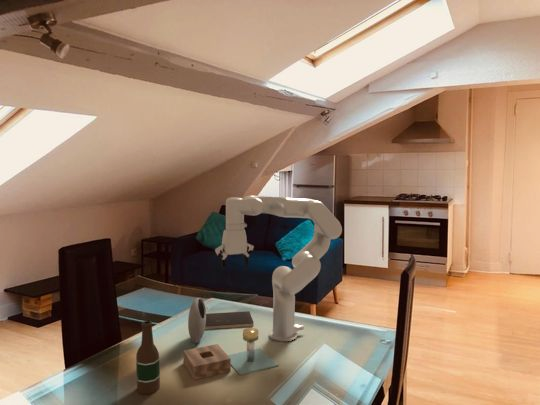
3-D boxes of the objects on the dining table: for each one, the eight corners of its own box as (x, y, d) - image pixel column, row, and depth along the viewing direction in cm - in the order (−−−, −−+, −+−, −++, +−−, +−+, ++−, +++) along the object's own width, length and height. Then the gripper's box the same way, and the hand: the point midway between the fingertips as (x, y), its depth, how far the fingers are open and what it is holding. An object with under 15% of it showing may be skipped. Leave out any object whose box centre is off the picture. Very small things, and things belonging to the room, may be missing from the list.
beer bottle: (139, 383, 154) (137, 318, 151) (161, 382, 155) (160, 317, 152) (134, 395, 146) (132, 327, 143) (158, 394, 147) (156, 326, 144)
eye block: (217, 355, 175) (217, 343, 175) (230, 371, 163) (230, 358, 162) (183, 363, 169) (183, 350, 169) (194, 379, 157) (194, 366, 156)
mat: (260, 349, 182) (260, 348, 182) (278, 365, 168) (278, 364, 168) (224, 356, 175) (224, 355, 175) (239, 375, 160) (239, 374, 160)
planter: (202, 350, 180) (202, 306, 178) (185, 350, 180) (184, 306, 178) (208, 332, 198) (208, 292, 196) (192, 332, 198) (192, 292, 196)
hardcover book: (253, 327, 206) (253, 322, 205) (204, 330, 201) (204, 325, 201) (249, 315, 221) (249, 310, 221) (203, 317, 217) (203, 313, 217)
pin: (254, 355, 175) (254, 326, 174) (260, 361, 170) (260, 332, 168) (240, 358, 172) (240, 329, 171) (246, 365, 167) (246, 335, 166)
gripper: (249, 224, 190) (249, 262, 192) (212, 227, 182) (212, 267, 184) (257, 227, 183) (257, 266, 185) (218, 230, 175) (218, 271, 177)
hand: (234, 267), depth 184 cm, fingers open, 9 cm apart
